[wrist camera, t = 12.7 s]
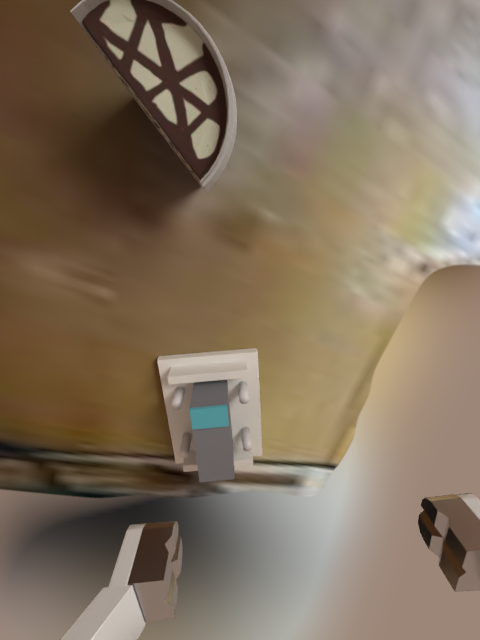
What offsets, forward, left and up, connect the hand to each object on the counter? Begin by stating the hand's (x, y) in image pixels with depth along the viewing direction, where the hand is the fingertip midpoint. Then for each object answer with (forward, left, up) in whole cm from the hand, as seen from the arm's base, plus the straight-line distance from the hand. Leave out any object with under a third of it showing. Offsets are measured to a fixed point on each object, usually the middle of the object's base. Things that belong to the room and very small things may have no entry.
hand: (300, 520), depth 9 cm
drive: (+5, +14, -24) cm, 28 cm away
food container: (+4, -18, -25) cm, 32 cm away
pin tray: (+5, +14, -25) cm, 29 cm away
